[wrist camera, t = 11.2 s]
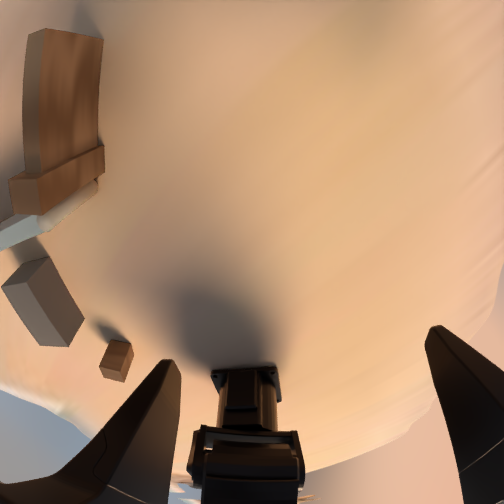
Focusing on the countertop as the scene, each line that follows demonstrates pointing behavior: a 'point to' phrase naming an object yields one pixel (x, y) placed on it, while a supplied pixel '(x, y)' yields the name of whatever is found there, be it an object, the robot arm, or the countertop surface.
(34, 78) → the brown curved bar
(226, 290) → the countertop surface
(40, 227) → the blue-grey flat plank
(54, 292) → the grey rectangular block
